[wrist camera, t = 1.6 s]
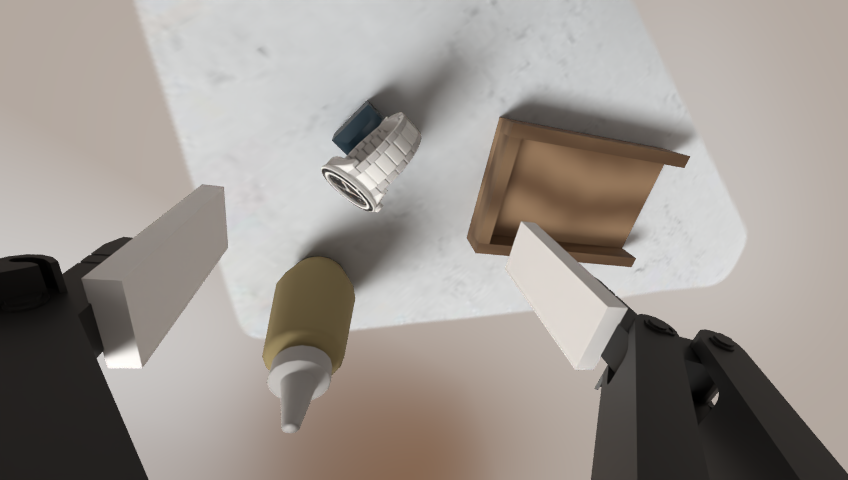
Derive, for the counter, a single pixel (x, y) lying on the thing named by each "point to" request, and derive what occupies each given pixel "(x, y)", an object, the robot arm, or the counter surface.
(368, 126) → the watch
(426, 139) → the counter surface
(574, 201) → the walnut track
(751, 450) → the robot arm
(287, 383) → the squeeze bottle
